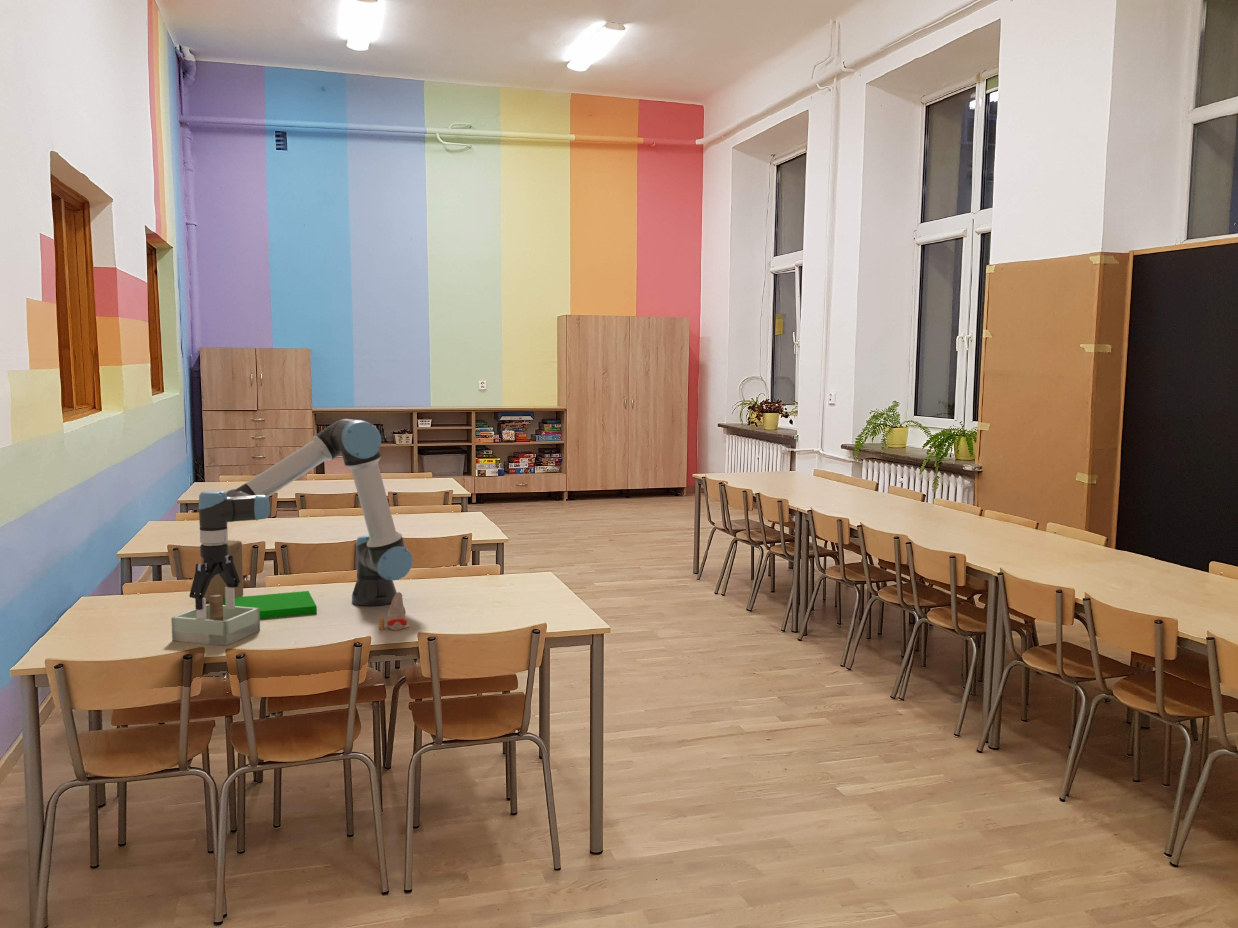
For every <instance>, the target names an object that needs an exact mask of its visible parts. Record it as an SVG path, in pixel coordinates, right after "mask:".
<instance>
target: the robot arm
mask: <svg viewBox="0 0 1238 928" xmlns="http://www.w3.org/2000/svg"><path fill="white" fill-rule="evenodd" d="M381 445H382V436H381V433H380V431H379V430H378V428H377V427H376V426H375V425H374V424H372V423H371V422H368V421H367V420H363V419H352V418H342V419H340V420H337V421H335V422H333V423H332V424H329V426H327V427H326V428H324V429H323V430H321V431H320V432H318V433H317V434H315V435H313V437H312V440H311V441H310V442H308V443H306V444H305V445H303V446H302V447H301V448H299V449H297V450H296V451H294V452H292V453H291V454H289V455H288V456H286V457H284V458H283V459H281V460H280V461H278V462H277V463H275V464H273V465H272V466H270V467H269V468H267V469H266V470H263V472H261V473H259V474H258V475H256V476H255V477H253V478H251V479H249V481H247V482H245V483H244V484H242V485H240V486H238V487H237V488H234V489H229V490H227V491H224V490H219V489H218V490H214V489H213V490H206V491H201V492H200V494H199V495H198V507H197V508H198V518H199V519H198V520H199V521H198V522H199V542H200V545H199V548H200V551H199V552H200V554H199V555H200V558H201V557H203V559H204V562H203V564H202V563H196V564H195V571H194V575H193V580H192V583H191V588H190V591H189V592H190V593H189V595H188V596H189V598H191V599H194V600H195V603H194V604H195V605H194V606H195V608H196V613H197V619H207V618H206V604H207V602H206V598H203V597H204V595H205V593H206V590H207V588H208V586H209V583H210V581H211V579H212V578H213V577H214V575H217V574H219V575H220V576H221V578H222V579H223V581H224V582H225V583H226V585H227V586H228V587H225V601H226V609H235V587H238V584H239V583H240V580H239V577H238V574H237V571H236V569H235V566H234V563H233V556H230V555H228V544H227V543H226V542H227V541H228V540H229V534H228V531H229V530H228V523H233V522H246V521H259V520H266V519H268V517H269V516H270V513H271V507H270V506H271V505H270V500H269V497H271V496H272V495H274V494H275V493H277V492H279V491H280V490H282V489H283V488H284V487H287V486H288V485H290V484H291V483H292V482H294V481H296V480H297V479H298V478H300V477H302V476H303V475H305V474H307V473H308V472H309V471H311V470H312V469H315V468H316V467H317V466H319V465H320V464H322V463H324V462H325V461H329V462H330V461H332V460H334V459H335V458H338V457H339V456H342V460H343V464H344V466H345V467H347V468H349V469H350V471H351V474H352V477H353V481H354V485H355V489H356V492H357V495H358V499H359V503H360V507H361V511H362V515H363V517H364V522H365V525H366V528H367V532H368V534H366V535H361V536H358V537H357V538H356V542H355V543H356V545H355V549H356V551H355V552H356V555H355V556H356V582H355V585H354V588H353V591H352V594H351V602H352V603H353V605H354V604H355V605H357V606H363V607H364V606H365V607H371V606H372V607H375V606H385V605H389V604H390V605H391V602H392V600H393V597H394V596H395V594H396V593H398V591H397V588H396V586H395V583H394V581H399V580H401V579H404V578H405V577H406V576H408V574H409V573H410V571H411V569H412V566H413V564H414V563H413V561H414V560H413V555H412V553H411V551H410V550H409V549H408V548H407V547H406V545H405V541H404V539H403V536H402V533H400V532H398V531H396V527H395V522H394V519H393V516H392V512H391V507H390V504H389V500H388V496H387V491H386V489H385V484H384V481H383V478H382V474H381V470H380V466H379V461H380V460H381V458H382V455H381V451H380V450H381V449H380V448H381ZM206 573H207V574H206Z"/></svg>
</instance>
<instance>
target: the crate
mask: <svg viewBox="0 0 1238 928" xmlns="http://www.w3.org/2000/svg"><path fill="white" fill-rule="evenodd" d="M206 618H207V619H197V613H196V607H195V608H193V609H190V610H188V611H187V610H186V612H183V613H180V614H177V615H174V616H171V618H170V620H171V640H172V642H178V643H179V642H181V643H193V644H204V645H212V646H213V645H214V646H223V647H226V646H230V645H231V644H234V643H236V642H238V641H240V640H242V639H244V638H248V637H249V636H251V635H253V634H256V633H258V632H260V631H261V619H260V611H259V608H252V607H240V606H235V609H226V605H223V621H220V620H210V605H209V603H206Z"/></svg>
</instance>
